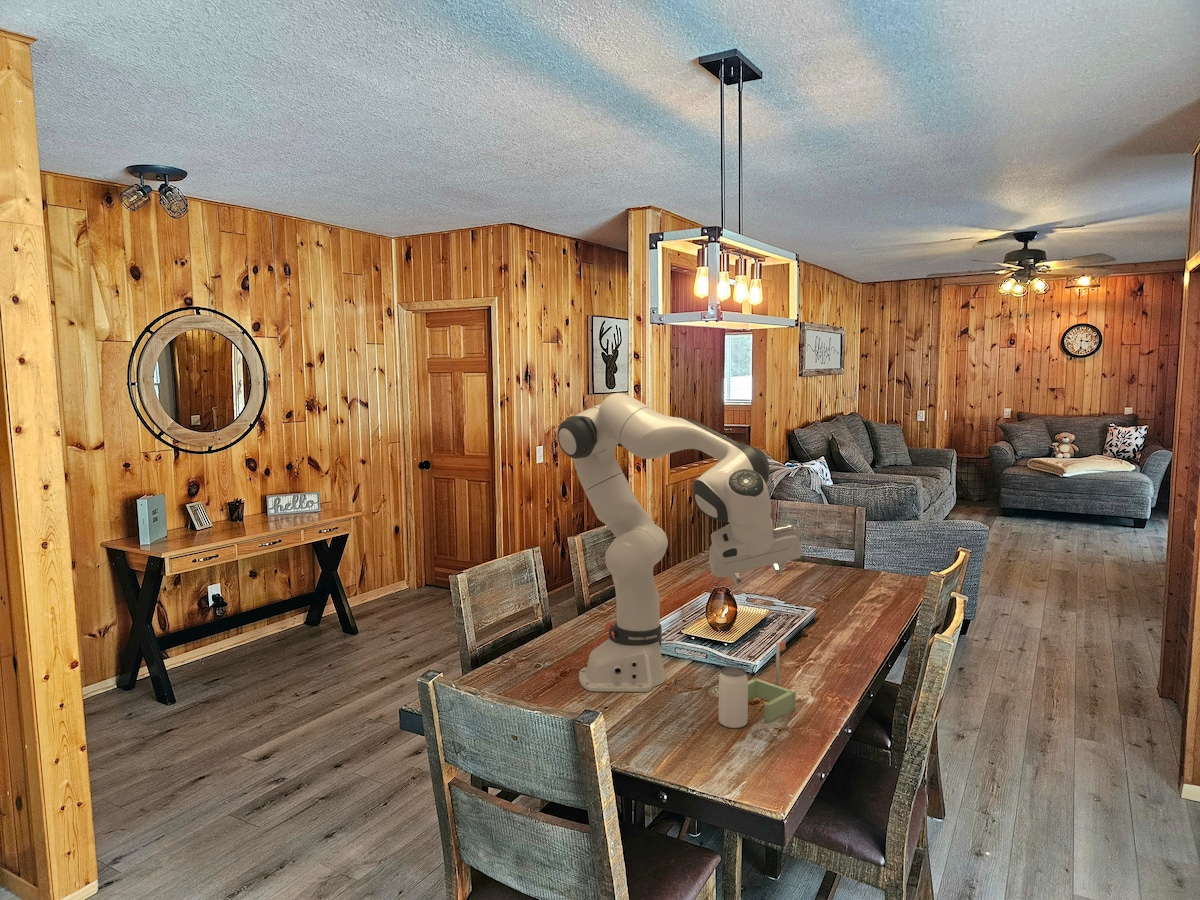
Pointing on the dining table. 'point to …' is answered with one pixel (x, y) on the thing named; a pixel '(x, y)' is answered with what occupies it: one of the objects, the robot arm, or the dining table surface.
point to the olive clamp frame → (773, 692)
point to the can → (733, 697)
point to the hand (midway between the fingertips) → (757, 576)
